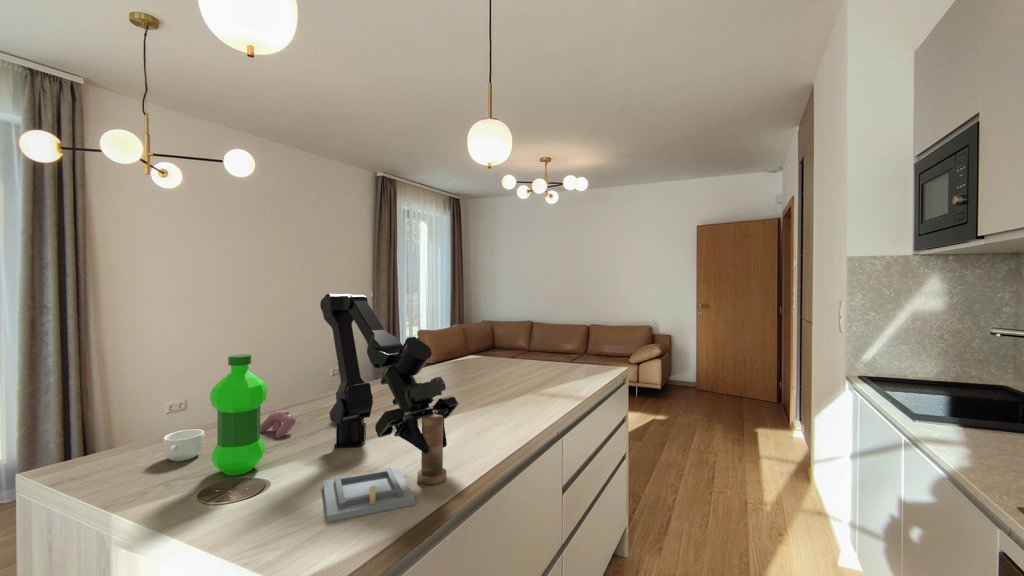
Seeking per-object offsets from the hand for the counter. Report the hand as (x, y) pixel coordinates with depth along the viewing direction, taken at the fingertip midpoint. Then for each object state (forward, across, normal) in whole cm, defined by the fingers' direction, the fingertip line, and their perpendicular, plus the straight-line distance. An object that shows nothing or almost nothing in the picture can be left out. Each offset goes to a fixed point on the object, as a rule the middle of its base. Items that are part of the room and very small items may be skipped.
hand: (436, 449), depth 92 cm
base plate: (+1, -13, +8) cm, 15 cm away
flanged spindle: (+4, 0, +6) cm, 7 cm away
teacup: (-33, -31, +42) cm, 62 cm away
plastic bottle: (-21, -25, +31) cm, 45 cm away
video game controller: (-35, -9, +45) cm, 57 cm away
